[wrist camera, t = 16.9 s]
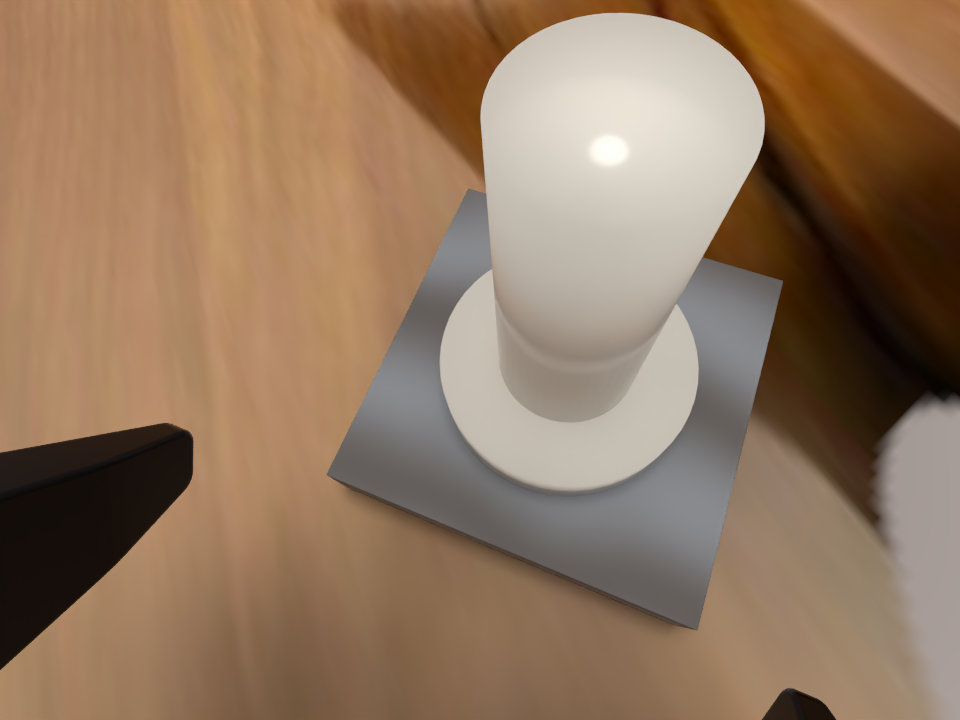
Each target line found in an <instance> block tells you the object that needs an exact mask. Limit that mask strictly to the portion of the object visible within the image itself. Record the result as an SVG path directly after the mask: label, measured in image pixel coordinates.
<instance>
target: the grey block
mask: <svg viewBox="0 0 960 720" xmlns="http://www.w3.org/2000/svg"><path fill="white" fill-rule="evenodd" d="M491 269H492V261H491V248H490V235H489V222H488V209H487V196H486V194H485V193H481V192H478V191H474V190H471V189H468V190H467V192H466V194H465V196H464V198H463V201H462V203H461V205H460V207H459V209H458V211H457V213H456V215H455V217H454V219H453V221H452V223H451V225H450V227H449V229H448V231H447V233H446V235H445V237H444V239H443V241H442V243H441V245H440V247H439V249H438V251H437V253H436V255H435V257H434V259H433V261H432V263H431V265H430V267H429V269H428V271H427V273H426V275H425V277H424V279H423V281H422V283H421V285H420V287H419V289H418V291H417V293H416V295H415V297H414V299H413V301H412V303H411V305H410V307H409V309H408V311H407V313H406V315H405V318H404V320H403V322H402V324H401V326H400V328H399V330H398V332H397V334H396V336H395V338H394V340H393V342H392V344H391V346H390V348H389V350H388V352H387V354H386V356H385V358H384V360H383V362H382V364H381V366H380V368H379V370H378V372H377V374H376V376H375V378H374V380H373V382H372V384H371V386H370V388H369V390H368V392H367V394H366V396H365V398H364V400H363V402H362V404H361V406H360V408H359V410H358V412H357V414H356V416H355V418H354V420H353V422H352V424H351V426H350V428H349V430H348V432H347V435H346V437H345V439H344V441H343V443H342V445H341V447H340V449H339V451H338V453H337V455H336V457H335V459H334V461H333V463H332V465H331V467H330V469H329V471H328V473H327V475H328V476H329V477H331V478H333V479H334V480H336V481H338V482H339V483H341V484H343V485H344V486H346V487H348V488H350V489H353V490H355V491H357V492H360V493H362V494H365V495H367V496H369V497H372V498H374V499H377V500H379V501H381V502H384V503H386V504H388V505H391V506H393V507H396V508H398V509H400V510H403V511H405V512H407V513H410V514H412V515H415V516H417V517H419V518H422V519H424V520H426V521H429V522H431V523H434V524H436V525H438V526H441V527H443V528H445V529H448V530H450V531H453V532H455V533H457V534H460V535H462V536H464V537H467V538H469V539H472V540H474V541H476V542H479V543H481V544H483V545H486V546H488V547H491V548H493V549H495V550H498V551H500V552H502V553H505V554H507V555H510V556H512V557H514V558H517V559H519V560H521V561H524V562H526V563H529V564H531V565H533V566H536V567H538V568H540V569H543V570H545V571H548V572H550V573H552V574H555V575H557V576H560V577H562V578H564V579H567V580H569V581H571V582H574V583H576V584H579V585H581V586H583V587H586V588H588V589H590V590H593V591H595V592H598V593H600V594H602V595H605V596H607V597H609V598H612V599H614V600H617V601H619V602H621V603H624V604H626V605H628V606H631V607H633V608H636V609H638V610H640V611H643V612H645V613H647V614H650V615H652V616H655V617H657V618H659V619H662V620H664V621H666V622H669V623H671V624H674V625H676V626H680V627H685V628H689V629H694V630H698V626H699V622H700V618H701V613H702V609H703V605H704V601H705V597H706V593H707V589H708V585H709V581H710V577H711V573H712V569H713V565H714V560H715V556H716V552H717V548H718V544H719V540H720V536H721V532H722V528H723V524H724V520H725V516H726V512H727V507H728V503H729V499H730V495H731V491H732V487H733V483H734V479H735V475H736V471H737V467H738V463H739V459H740V455H741V450H742V446H743V442H744V438H745V434H746V430H747V426H748V422H749V418H750V414H751V410H752V406H753V402H754V397H755V393H756V389H757V385H758V381H759V377H760V373H761V369H762V365H763V361H764V357H765V353H766V349H767V344H768V340H769V336H770V332H771V328H772V324H773V320H774V316H775V312H776V308H777V304H778V300H779V296H780V291H781V287H782V283H783V281H781V280H778V279H774V278H771V277H767V276H764V275H761V274H757V273H754V272H750V271H747V270H744V269H740V268H737V267H733V266H730V265H727V264H723V263H720V262H716V261H713V260H709V259H706V258H703V257H702V258H701V260H700V262H699V264H698V266H697V267H696V269H695V271H694V273H693V275H692V276H691V278H690V280H689V282H688V284H687V285H686V287H685V289H684V291H683V293H682V294H681V296H680V298H679V300H678V302H677V303H676V304H677V305H678V306H679V308H680V309H681V311H682V313H683V315H684V317H685V318H686V320H687V322H688V324H689V327H690V329H691V332H692V334H693V337H694V341H695V345H696V349H697V356H698V365H699V373H698V386H697V391H696V397H695V401H694V404H693V406H692V409H691V412H690V415H689V417H688V419H687V421H686V422H685V424H684V426H683V428H682V430H681V431H680V432H679V434H678V435H677V437H676V438H675V439H674V441H673V442H672V443H671V444H670V445H669V446H668V447H667V448H666V449H665V450H664V451H663V452H662V453H661V454H660V455H659V456H658V457H657V458H656V459H655V460H654V461H653V462H652V463H651V464H650V465H649V466H648V467H647V468H645V469H644V470H643V471H641V472H640V473H639V474H637V475H636V476H635V477H633V478H632V479H630V480H628V481H626V482H624V483H622V484H621V485H619V486H616V487H613V488H611V489H608V490H605V491H602V492H598V493H593V494H589V495H580V496H554V495H549V494H543V493H538V492H534V491H531V490H528V489H525V488H522V487H520V486H518V485H515V484H513V483H511V482H509V481H507V480H505V479H504V478H502V477H501V476H499V475H497V474H496V473H494V472H493V471H492V470H491V469H489V468H488V467H487V466H486V465H485V464H483V463H482V462H481V461H480V460H479V459H478V458H477V457H476V455H475V454H474V453H473V452H472V451H471V450H470V448H469V447H468V446H467V444H466V443H465V441H464V440H463V438H462V437H461V435H460V433H459V431H458V429H457V427H456V425H455V423H454V420H453V417H452V415H451V412H450V409H449V406H448V404H447V401H446V398H445V395H444V392H443V387H442V382H441V377H440V350H441V343H442V339H443V334H444V331H445V328H446V325H447V323H448V320H449V317H450V316H451V314H452V312H453V310H454V308H455V306H456V304H457V303H458V302H459V300H460V299H461V298H462V296H463V295H464V293H465V292H466V291H467V290H468V289H469V288H470V287H471V286H472V285H473V284H474V283H475V282H476V281H477V280H478V279H479V278H480V277H482V276H483V275H484V274H485V273H487V272H488V271H490V270H491Z"/></svg>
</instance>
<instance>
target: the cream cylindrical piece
mask: <svg viewBox="0 0 960 720" xmlns="http://www.w3.org/2000/svg"><path fill="white" fill-rule="evenodd" d="M481 131H482V144H483V157H484V170H485V183H486V196H487V209H488V222H489V235H490V248H491V261H492V269H491V270H490V271H488V272H487V273H485V274H484V275H483V276H482V277H480V278H479V279H478V280H477V281H476V282H475V283H474V284H473V285H472V286H471V287H470V288H469V289H468V290H467V291H466V292H465V293H464V295H463V296H462V298H461V299H460V300H459V302H458V303H457V304H456V306H455V308H454V310H453V312H452V314H451V316H450V317H449V320H448V323H447V325H446V328H445V331H444V334H443V339H442V343H441V350H440V377H441V382H442V387H443V392H444V395H445V398H446V401H447V404H448V406H449V409H450V412H451V415H452V417H453V420H454V423H455V425H456V427H457V429H458V431H459V433H460V435H461V437H462V438H463V440H464V441H465V443H466V444H467V446H468V447H469V448H470V450H471V451H472V452H473V453H474V454H475V455H476V457H477V458H478V459H479V460H480V461H481V462H482V463H483V464H485V465H486V466H487V467H488V468H489V469H491V470H492V471H493V472H494V473H496V474H497V475H499V476H501V477H502V478H504V479H505V480H507V481H509V482H511V483H513V484H515V485H518V486H520V487H522V488H525V489H528V490H531V491H534V492H538V493H543V494H549V495H554V496H580V495H589V494H593V493H598V492H602V491H605V490H608V489H611V488H613V487H616V486H619V485H621V484H622V483H624V482H626V481H628V480H630V479H632V478H633V477H635V476H636V475H637V474H639V473H640V472H641V471H643V470H644V469H645V468H647V467H648V466H649V465H650V464H651V463H652V462H653V461H654V460H655V459H656V458H657V457H658V456H659V455H660V454H661V453H662V452H663V451H664V450H665V449H666V448H667V447H668V446H669V445H670V444H671V443H672V442H673V441H674V439H675V438H676V437H677V435H678V434H679V432H680V431H681V430H682V428H683V426H684V424H685V422H686V421H687V419H688V417H689V415H690V412H691V409H692V406H693V404H694V401H695V397H696V391H697V386H698V373H699V365H698V356H697V349H696V345H695V341H694V337H693V334H692V332H691V329H690V327H689V324H688V322H687V320H686V318H685V317H684V315H683V313H682V311H681V309H680V308H679V306H678V305H677V304H676V303H677V302H678V300H679V298H680V296H681V294H682V293H683V291H684V289H685V287H686V285H687V284H688V282H689V280H690V278H691V276H692V275H693V273H694V271H695V269H696V267H697V266H698V264H699V262H700V260H701V258H702V257H703V255H704V253H705V251H706V249H707V248H708V246H709V244H710V242H711V240H712V239H713V237H714V235H715V233H716V231H717V230H718V228H719V226H720V224H721V222H722V221H723V219H724V217H725V215H726V213H727V212H728V210H729V208H730V206H731V204H732V203H733V201H734V199H735V197H736V195H737V194H738V192H739V190H740V188H741V186H742V185H743V183H744V181H745V179H746V177H747V176H748V174H749V172H750V170H751V168H752V167H753V165H754V163H755V161H756V159H757V157H758V154H759V152H760V149H761V146H762V142H763V136H764V111H763V106H762V101H761V98H760V95H759V93H758V90H757V88H756V86H755V84H754V82H753V80H752V78H751V77H750V75H749V74H748V72H747V71H746V70H745V68H744V67H743V66H742V64H741V63H740V62H739V61H738V60H737V59H736V58H735V57H734V56H733V55H732V54H731V53H730V52H729V51H727V50H726V49H725V48H724V47H722V46H721V45H720V44H719V43H717V42H716V41H714V40H712V39H711V38H709V37H708V36H706V35H704V34H703V33H700V32H698V31H696V30H694V29H692V28H690V27H688V26H685V25H682V24H680V23H677V22H674V21H671V20H667V19H663V18H659V17H654V16H648V15H642V14H630V13H604V14H596V15H588V16H583V17H578V18H573V19H570V20H567V21H564V22H560V23H557V24H555V25H553V26H550V27H548V28H546V29H543V30H541V31H540V32H538V33H536V34H534V35H532V36H531V37H529V38H527V39H526V40H525V41H523V42H522V43H521V44H519V45H518V46H517V47H515V48H514V49H513V50H512V51H511V52H510V53H509V54H508V55H507V56H506V57H505V58H504V59H503V61H502V62H501V63H500V64H499V65H498V67H497V68H496V70H495V71H494V73H493V75H492V76H491V78H490V80H489V82H488V85H487V87H486V89H485V92H484V96H483V100H482V105H481Z"/></svg>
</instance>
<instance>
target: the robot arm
mask: <svg viewBox="0 0 960 720" xmlns="http://www.w3.org/2000/svg"><path fill="white" fill-rule="evenodd" d="M192 475H193V437H192V435H191V433H190V432H189V431H187V430H185V429H182V428H180V427H178V426H175V425H173V424H169V423H162V424H156V425H151V426H145V427H140V428H134V429H129V430H123V431H118V432H112V433H107V434H101V435H96V436H90V437H85V438H79V439H74V440H68V441H63V442H57V443H52V444H46V445H41V446H35V447H30V448H24V449H19V450H13V451H8V452H2V453H0V670H1V669H2V668H3V667H4V666H5V665H7V664H8V663H9V662H10V661H11V660H12V659H13V658H14V657H15V656H16V655H18V654H19V653H20V652H21V651H22V650H23V649H24V648H25V647H26V646H27V645H29V644H30V643H31V642H32V641H33V640H34V639H35V638H36V637H37V636H38V635H40V634H41V633H42V632H43V631H44V630H45V629H46V628H47V627H48V626H49V625H51V624H52V623H53V622H54V621H55V620H56V619H57V618H58V617H59V616H60V615H62V614H63V613H64V612H65V611H66V610H67V609H68V608H69V607H70V606H71V605H73V604H74V603H75V602H76V601H77V600H78V599H79V598H80V597H81V596H82V595H84V594H85V593H86V592H87V591H88V590H89V589H90V588H91V587H92V586H93V585H95V584H96V583H97V582H98V581H99V580H100V579H101V578H102V577H103V576H104V575H105V574H106V573H107V572H109V571H110V570H111V569H112V568H113V567H114V566H115V565H116V564H117V563H118V562H119V561H120V560H121V559H122V558H123V557H124V556H125V555H126V554H127V552H128V551H129V550H130V549H131V548H132V547H133V546H134V545H135V544H136V543H137V542H138V540H139V539H140V538H141V537H142V536H143V535H144V534H145V533H146V532H147V531H148V530H149V529H150V527H151V526H152V525H153V524H154V523H155V522H156V521H157V520H158V519H159V518H160V517H161V515H162V514H163V513H164V512H165V511H166V510H167V509H168V508H169V507H170V506H171V505H172V503H173V502H174V501H175V500H176V499H177V498H178V497H179V496H180V495H181V494H182V493H183V492H184V490H185V489H186V488H187V486H188V485H189V483H190V481H191V479H192ZM762 720H836V719H835V717H834V716H833V714H832V713H831V712H830V710H829V709H828V707H827V706H826V705H825V704H824V703H823V702H822V701H820V700H819V699H817V698H814V697H812V696H810V695H807V694H805V693H802V692H800V691H798V690H795V689H792V688H788V689H785V690H783V691H782V692H781V694H780V695H779V696H778V698H777V699H776V700H775V702H774V703H773V705H772V706H771V707H770V709H769V710H768V712H767V713H766V715H765V716H764V717H763V719H762Z"/></svg>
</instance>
